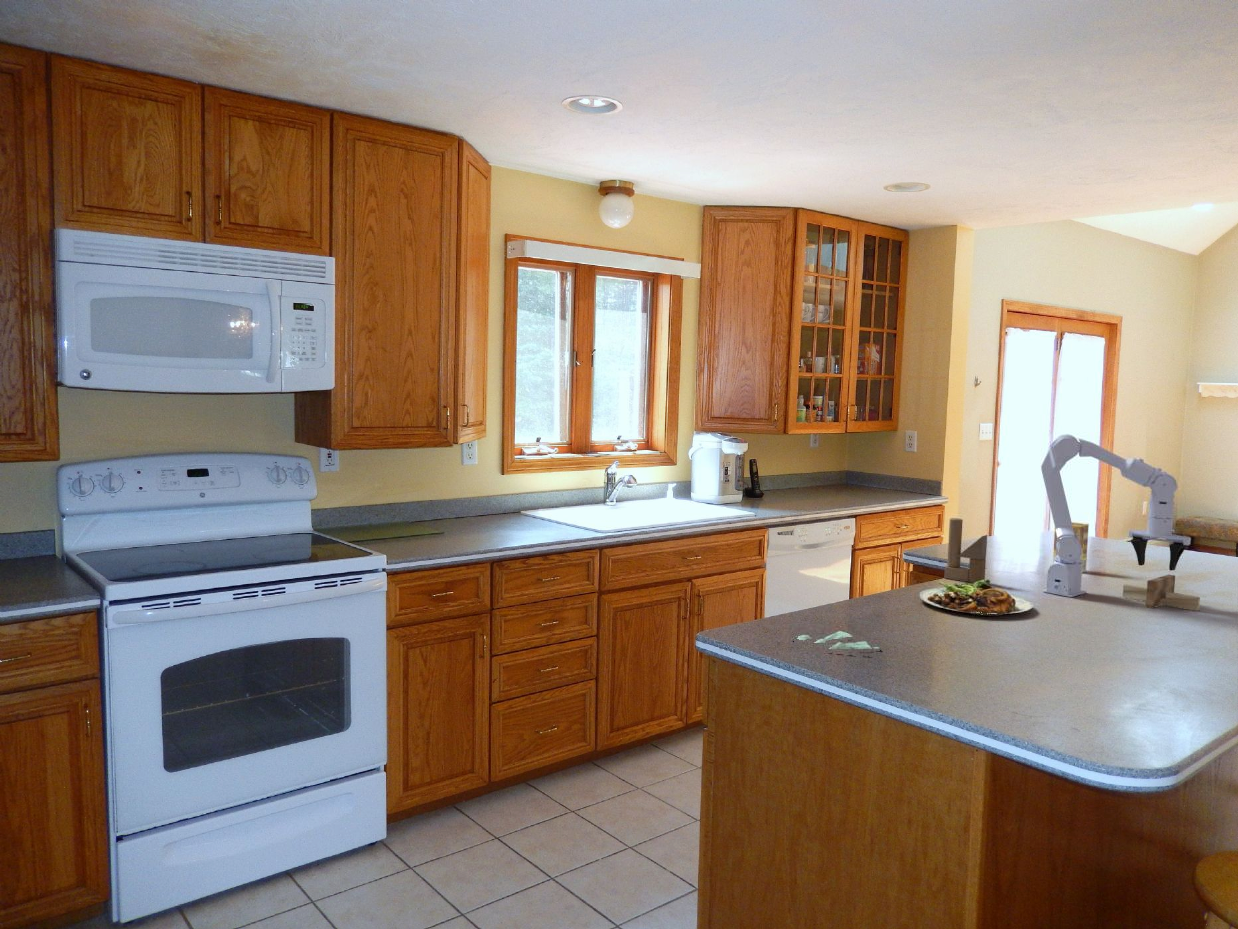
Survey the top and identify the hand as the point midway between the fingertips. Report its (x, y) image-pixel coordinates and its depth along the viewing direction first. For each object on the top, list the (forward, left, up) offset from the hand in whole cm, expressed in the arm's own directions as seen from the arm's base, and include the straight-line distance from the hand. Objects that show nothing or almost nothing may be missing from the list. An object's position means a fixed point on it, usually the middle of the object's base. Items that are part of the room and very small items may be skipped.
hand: (1156, 567), depth 239 cm
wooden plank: (-1, -2, -9) cm, 10 cm away
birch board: (-1, -2, -9) cm, 10 cm away
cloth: (-103, +23, -10) cm, 106 cm away
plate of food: (-45, +26, -10) cm, 53 cm away
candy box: (+23, +33, -10) cm, 41 cm away
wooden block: (-19, +44, -10) cm, 49 cm away
